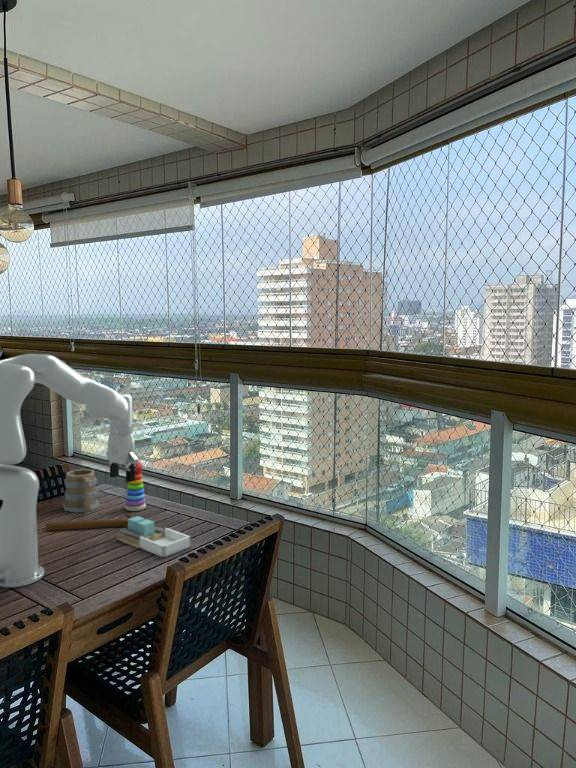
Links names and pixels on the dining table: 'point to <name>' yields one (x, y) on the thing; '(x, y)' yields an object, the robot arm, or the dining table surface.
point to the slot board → (138, 536)
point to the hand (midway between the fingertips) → (122, 479)
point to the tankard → (80, 491)
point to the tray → (167, 543)
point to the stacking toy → (135, 492)
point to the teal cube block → (134, 523)
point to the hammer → (87, 524)
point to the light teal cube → (145, 527)
